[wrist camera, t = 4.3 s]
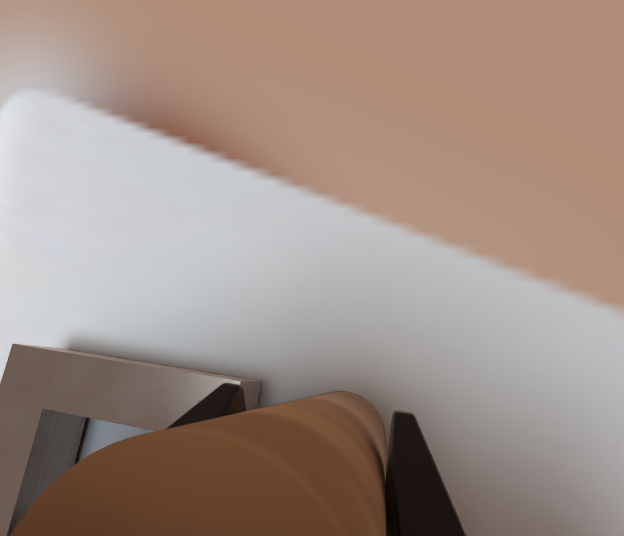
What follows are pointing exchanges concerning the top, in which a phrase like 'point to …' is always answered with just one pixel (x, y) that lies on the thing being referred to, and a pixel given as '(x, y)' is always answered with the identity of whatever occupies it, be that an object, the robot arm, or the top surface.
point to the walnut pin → (230, 478)
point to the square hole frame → (82, 411)
